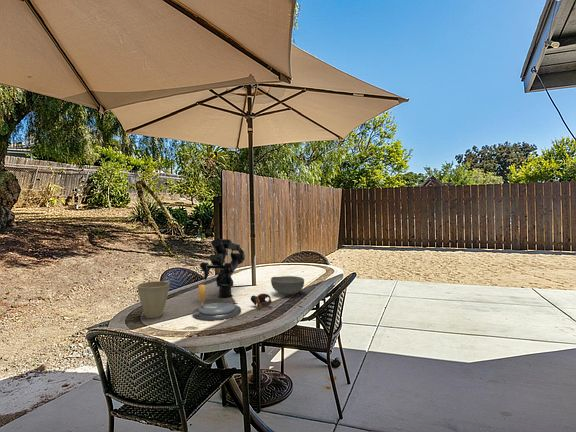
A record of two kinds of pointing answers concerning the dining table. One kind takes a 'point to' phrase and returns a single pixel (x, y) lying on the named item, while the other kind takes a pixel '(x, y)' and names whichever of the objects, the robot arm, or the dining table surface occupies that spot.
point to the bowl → (287, 284)
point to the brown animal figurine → (261, 300)
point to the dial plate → (216, 317)
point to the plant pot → (153, 297)
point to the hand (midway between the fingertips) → (212, 280)
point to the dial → (213, 305)
